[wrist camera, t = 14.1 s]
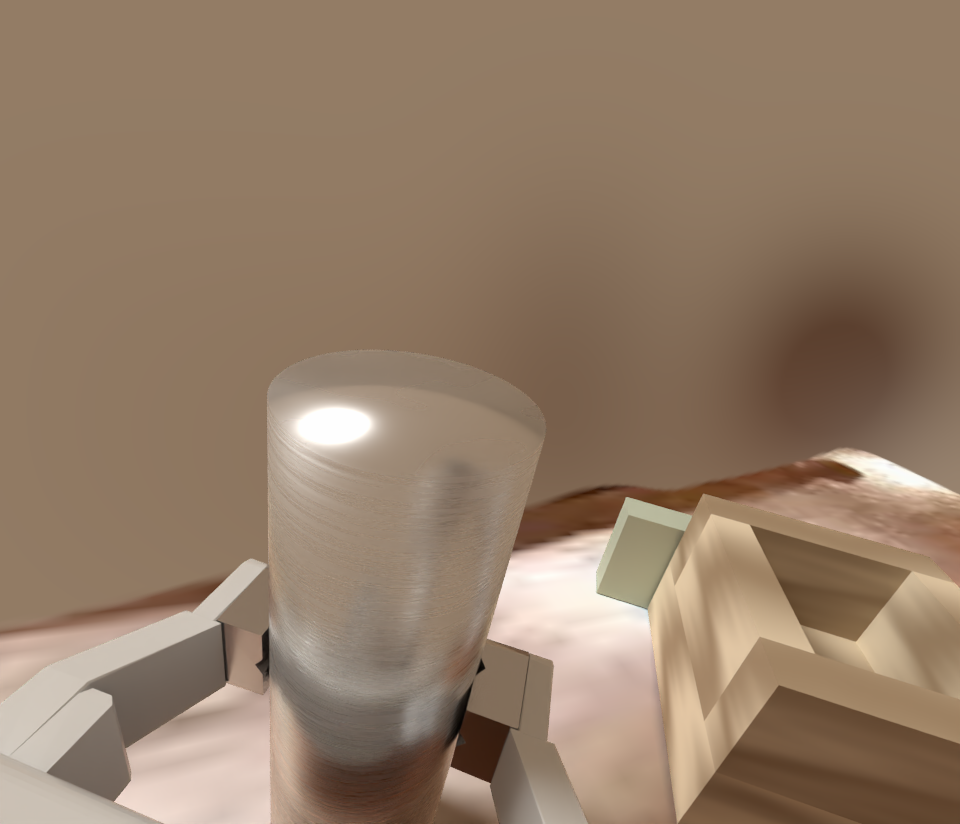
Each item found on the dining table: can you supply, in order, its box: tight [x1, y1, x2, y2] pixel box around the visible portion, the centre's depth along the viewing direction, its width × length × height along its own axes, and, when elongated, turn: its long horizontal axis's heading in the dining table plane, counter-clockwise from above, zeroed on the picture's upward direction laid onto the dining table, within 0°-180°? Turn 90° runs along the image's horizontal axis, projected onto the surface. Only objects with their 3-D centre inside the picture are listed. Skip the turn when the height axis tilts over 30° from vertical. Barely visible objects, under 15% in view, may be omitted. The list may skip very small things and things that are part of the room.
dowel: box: [267, 350, 546, 824], centre depth 10 cm, size 4×4×14 cm
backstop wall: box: [596, 497, 692, 609], centre depth 22 cm, size 2×14×5 cm, turn 77°
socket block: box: [648, 494, 960, 824], centre depth 17 cm, size 9×9×7 cm
